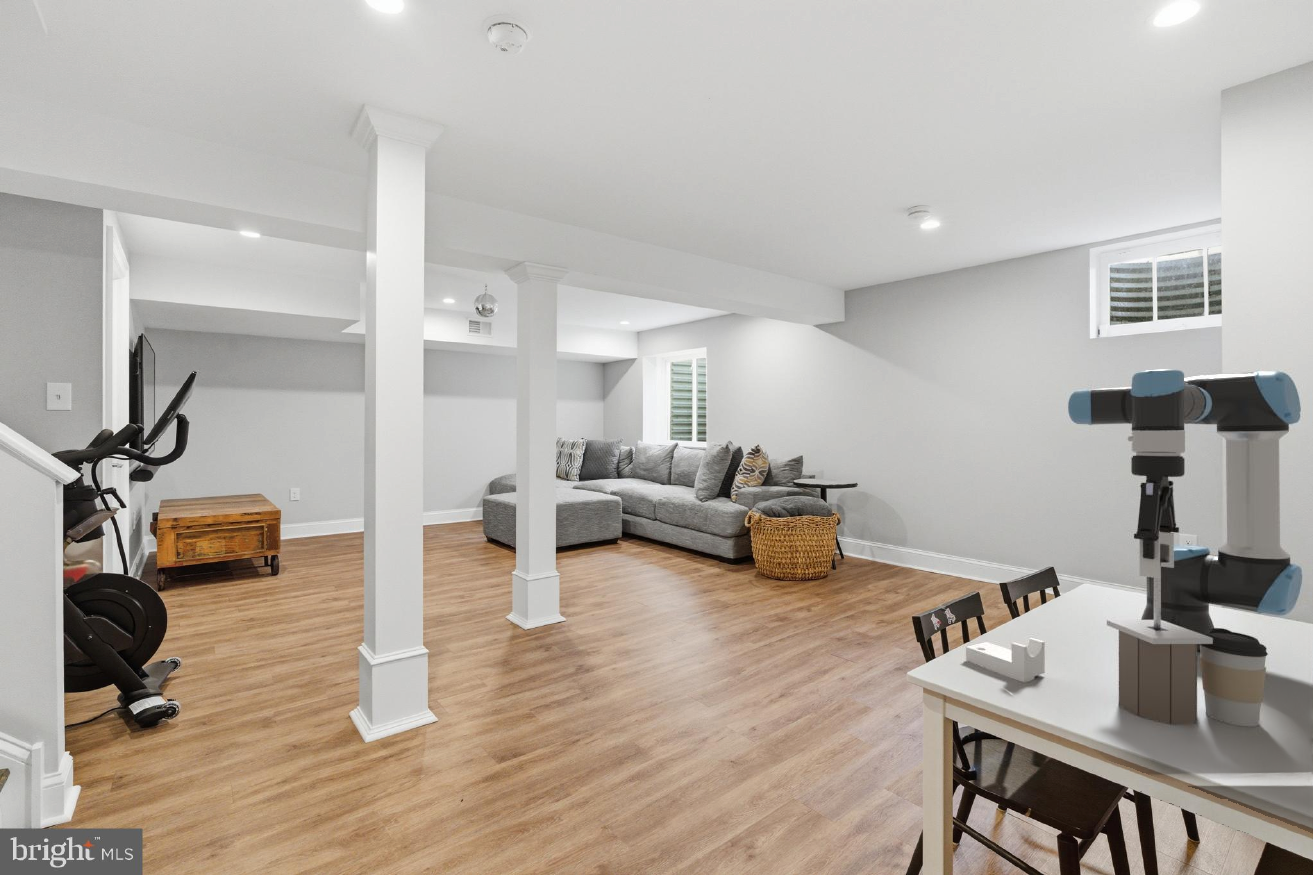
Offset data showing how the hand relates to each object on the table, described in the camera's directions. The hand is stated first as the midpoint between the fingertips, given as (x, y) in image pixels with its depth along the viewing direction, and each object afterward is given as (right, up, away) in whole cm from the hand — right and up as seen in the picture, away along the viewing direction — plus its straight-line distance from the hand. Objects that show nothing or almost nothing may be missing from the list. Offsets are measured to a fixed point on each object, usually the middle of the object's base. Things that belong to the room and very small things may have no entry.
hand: (1157, 571), depth 111 cm
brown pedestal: (0, -25, 0) cm, 25 cm away
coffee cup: (+11, -26, -3) cm, 28 cm away
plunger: (0, -14, 0) cm, 14 cm away
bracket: (-17, -26, +20) cm, 37 cm away
